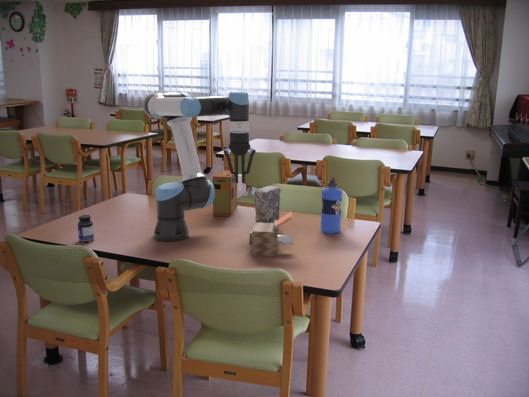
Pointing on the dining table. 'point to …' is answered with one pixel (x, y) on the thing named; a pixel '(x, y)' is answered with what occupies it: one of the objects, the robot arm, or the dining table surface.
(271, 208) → the stone block
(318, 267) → the dining table surface
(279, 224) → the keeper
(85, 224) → the pill bottle
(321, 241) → the dining table surface
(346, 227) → the dining table surface
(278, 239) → the pin
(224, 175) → the box
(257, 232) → the block
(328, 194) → the water bottle
